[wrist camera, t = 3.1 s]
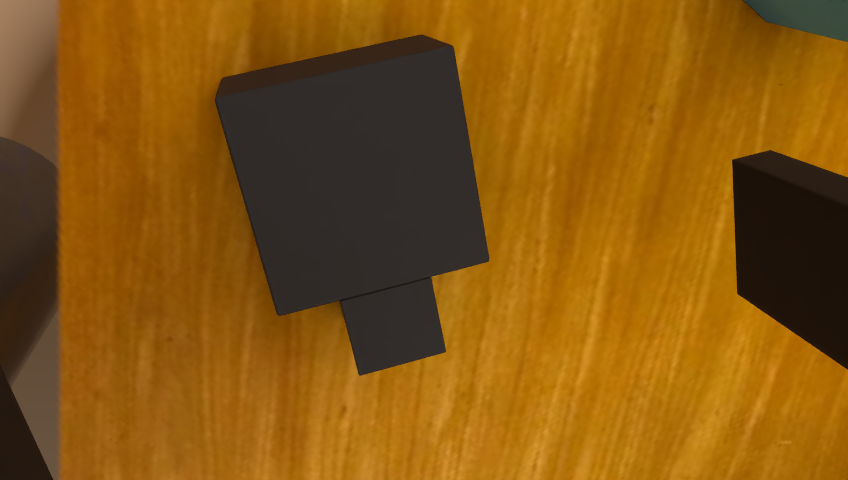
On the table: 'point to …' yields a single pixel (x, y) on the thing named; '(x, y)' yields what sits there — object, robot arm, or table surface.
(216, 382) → the table surface
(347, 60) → the tab pad
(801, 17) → the cup
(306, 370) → the table surface
